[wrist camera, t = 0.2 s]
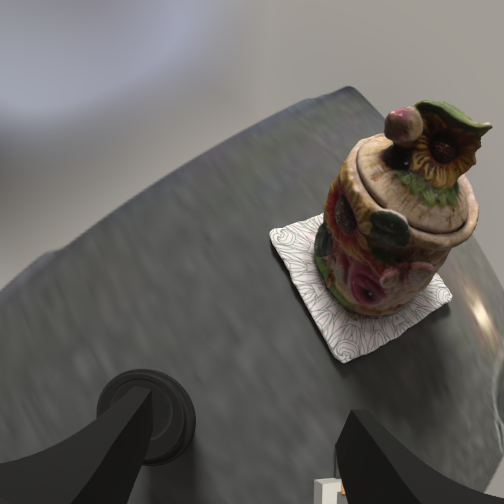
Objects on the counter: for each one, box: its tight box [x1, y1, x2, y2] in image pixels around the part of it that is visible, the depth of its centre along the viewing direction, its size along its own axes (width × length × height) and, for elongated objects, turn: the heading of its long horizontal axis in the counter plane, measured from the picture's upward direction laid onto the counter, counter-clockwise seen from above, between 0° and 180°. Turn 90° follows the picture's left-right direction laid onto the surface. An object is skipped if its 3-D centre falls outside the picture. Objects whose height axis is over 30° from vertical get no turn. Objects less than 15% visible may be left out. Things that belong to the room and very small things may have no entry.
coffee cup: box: [97, 369, 196, 466], centre depth 29 cm, size 9×9×15 cm
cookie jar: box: [270, 100, 492, 364], centre depth 36 cm, size 25×25×32 cm
